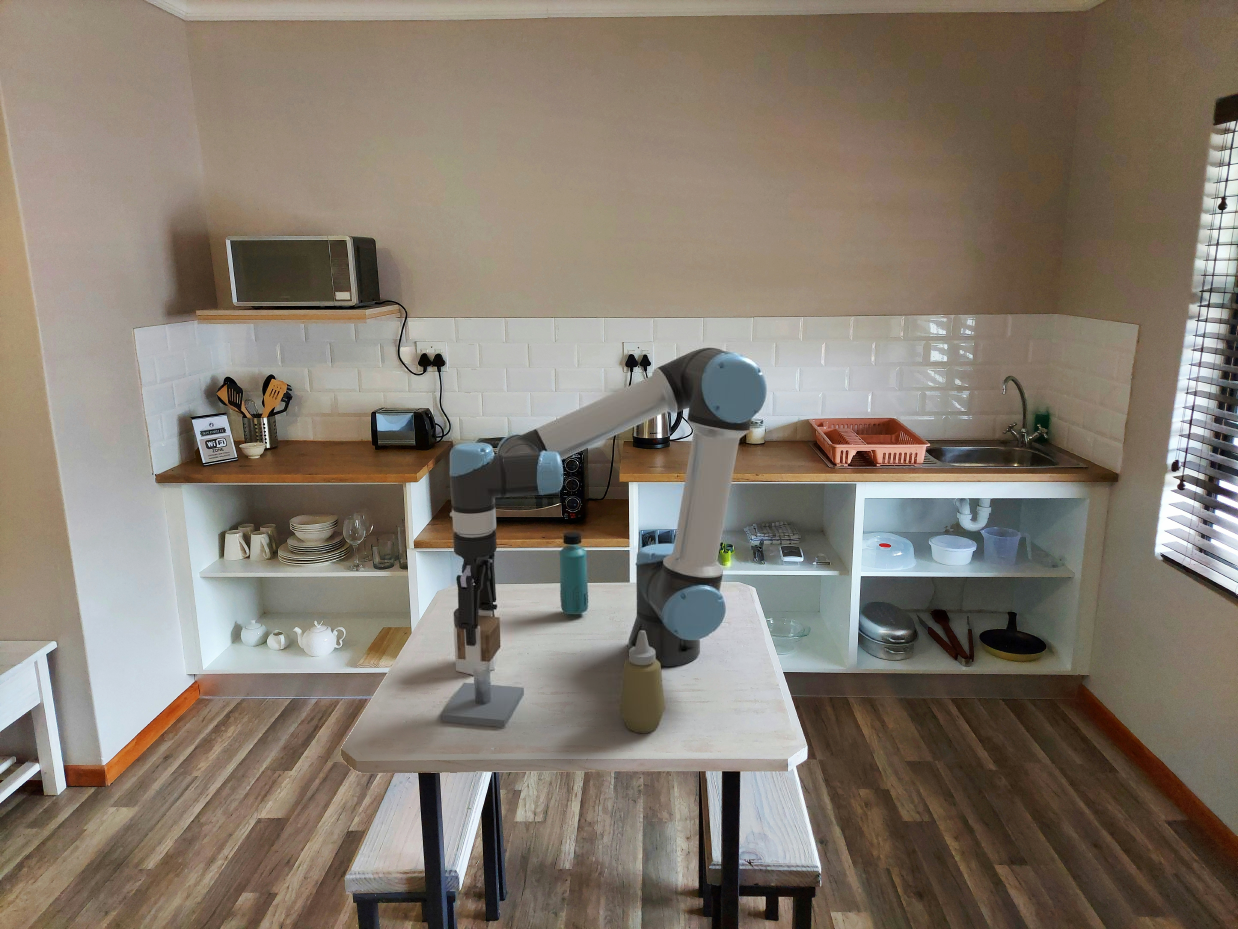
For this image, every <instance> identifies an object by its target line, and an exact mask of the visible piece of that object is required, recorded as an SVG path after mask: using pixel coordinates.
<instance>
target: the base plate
mask: <svg viewBox="0 0 1238 929" xmlns="http://www.w3.org/2000/svg"><path fill="white" fill-rule="evenodd" d="M524 691H525V689H524V687H522V686H511V685H510V686H509V685H499V684H497V685H496V684H491V702H490V703H488V704H484V705H480V704H477V703H475V692H474V682H473V683H472V682H463V683H462V684H461V685H460V687H459V688H458V690H457V691H456V692H455V693H454V695H453V697H451V699H450V701H449V702H448V704H446V706H445V707H444V709H443V710H442V711H441V713H440V715H439V716H440V722H441V723H448V722H450V724H459V723H461V724H460V725H469V726H472V725H473V724H474V725H473V726H480V725H481V726H482V725H483V727H491V726H494V727H493V728H502V727H505V728H506V726H507V725H508V723H509V720H511V718H512V716H513V714H514V712H515V711H516V709H517V708H518V705H519V704H520V702H521V701H522V698H523V697H524V695H525V693H524ZM470 724H471V725H470ZM506 724H507V725H506ZM481 726H480V727H481Z"/></svg>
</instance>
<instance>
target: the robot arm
mask: <svg viewBox="0 0 1238 929" xmlns="http://www.w3.org/2000/svg"><path fill="white" fill-rule="evenodd" d="M766 382H767V381H766V378H765V375H764V373H763V372H762V370H761V368H760V367H759V366H758V365H757V363H755V362H754V361H753V360H751V359H749V358H748V357H746V356H745V355H743V354H739V353H736V352H730V351H726V350H722V349H720V348H716V347H702V348H699V349H695V350H692V351H689V352H688V353H685V354H684V355H681V356H679V357H677V358H674V359H673V360H671V361H669V362H666V363H665V364H663V365H660V366H658V367H656V368H654V369H653V372H652V374H651V376H649V377H646V378H644V379H642V380H640V381H638V382H636V383H633V384H632V385H628V386H626V387H624V388H622V389H620V390H617V391H615V392H613V393H611V394H609V395H607V396H604V397H602V398H600V399H598V400H596V401H593V402H591V403H589V404H587V405H585V406H583V407H581V408H579V409H576V410H573V411H572V412H570V413H567V414H565V415H562V416H560V417H559V418H556V419H554V420H552V421H549V422H547V423H545V424H542V425H541V426H539V427H536V428H535V429H532V430H528V431H527V432H525V433H523V434H519V433H515V434H514V433H512V434H509V435H507V436H505V437H504V438H502V439H501V441H500V442H499V443H498V445H497V448H496V453H495V452H494V448H493V446H492V445H491V444H489V443H485V442H463V443H459V444H457V445H454V446H453V447H452V448H451V450H450V452H449V471H448V472H449V483H450V485H449V486H450V498H451V511H450V513H449V517H452V530H453V531H454V533H453V534H452V539H453V540H452V542H453V552H454V554H455V555H456V556H458V557H460V558H462V559H463V561H462V563H463V564H462V565H461V574H462V575H461V574H457V576H456V578H455V580H456V586H457V604H458V606H457V608H458V615H459V625H458V626H459V629H464V633H465V654H466V660H468V661H481V660H482V656H481V635H480V626H478V615H480V616H492V617H493V615H492V611H491V610H494V611H496V610H497V609H498V604H497V603H496V601H497V588H496V574H495V573H496V572H495V554H496V551H497V549H498V547H497V545H498V544H497V543H498V542H497V531H496V529H497V515H496V514H497V513H496V498H504V497H523V496H537V495H538V496H539V495H541V496H545V495H549V494H555V493H558V492H560V491H561V489H562V488H563V485H564V484H563V483H564V468H563V466H564V465H563V462H562V460H564V459H566V458H569V457H571V456H573V455H575V454H576V453H579V452H581V451H583V450H586V449H588V448H590V447H592V446H595V445H597V444H599V443H601V442H604V441H606V440H608V439H610V438H612V437H615V436H616V435H619V434H622V433H623V432H625V431H627V430H629V429H632V428H634V427H636V426H639V425H640V424H642V423H645V422H647V421H650V420H651V419H653V418H655V417H658V416H660V415H663V414H665V413H667V412H668V413H671V414H677V413H679V412H681V411H684V410H686V409H687V410H688V411H687V412H688V414H687V420H686V421H687V423H688V424H689V426H690V427H691V429H692V431H693V432H692V438H691V444H690V450H689V456H688V462H687V468H686V474H685V479H684V485H683V491H682V496H681V503H680V508H679V515H678V520H677V527H676V532H675V538H674V542H673V543H657V544H650V545H646V546H644V547H641V548H640V549H639V550H638V551H637V553H636V561H635V568H636V569H635V574H636V575H635V578H636V585H635V586H636V588H635V589H636V617H635V619H634V623H633V624H632V625H633V626H632V628H631V631H630V635H629V638H628V643H627V644H628V646H627V647H628V651H629V650H630V649H631V648H633V647H635V646H636V642H637V638H638V633H639V631H641V630H644V631H645V632H646V636H647V640H648V645H649V647H652V648H653V649H654V650H655V659H656V660H657V661H659V662H660V665H661V667H677V666H681V665H685V664H688V663H690V662H692V661H694V660H695V659H697V657H699V655H700V653H701V639H704V638H706V637H708V636H710V635H711V634H712V633H714V632H715V631H716V630H718V629H719V628H720V626H721V625H722V623H723V621H724V619H725V616H726V611H727V608H726V607H727V605H726V602H725V597H724V596H723V594H722V593H721V587H722V586H721V585H722V582H723V581H722V580H723V575H724V568H723V567H722V566H721V564H720V562H719V561H718V557H719V552H720V548H721V547H720V546H721V541H722V535H723V531H724V524H725V519H726V515H727V514H726V513H727V509H728V503H729V496H730V491H731V487H732V482H733V476H734V471H735V470H734V469H735V465H736V459H737V455H738V454H737V453H738V449H739V444H740V439H741V438H742V437H743V436H745V435H746V434H748V433H749V432H750V429H751V424H752V420H753V418H754V417H755V416H756V414H759V413H760V411H761V410H762V408H763V406H764V404H765V402H766V397H767V394H768V393H767V392H768V391H767V383H766ZM494 603H496V604H494ZM479 609H481V610H479Z"/></svg>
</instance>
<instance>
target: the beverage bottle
mask: <svg viewBox="0 0 1238 929" xmlns="http://www.w3.org/2000/svg"><path fill="white" fill-rule="evenodd" d="M581 534H582V533H580V532H579V531H567V532H565V533H563V540H562V542H563V544H564V547H563V548H561V549H560V551H559V585H560V587H559V589H560V591H559V592H560V593H559V597H560V599H559V600H560V601H559V602H560V609H561V611H562V612H563V613H564V614H568V615H579V614H584V613H585V612H587V611H588V608H589V604H590V603H589V587H588V586H589V583H588V582H589V579H588V566H587V550H586V549H585V548H584V547H582V546H581V545H579V544H581V543H582V535H581ZM565 545H566V546H565Z"/></svg>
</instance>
